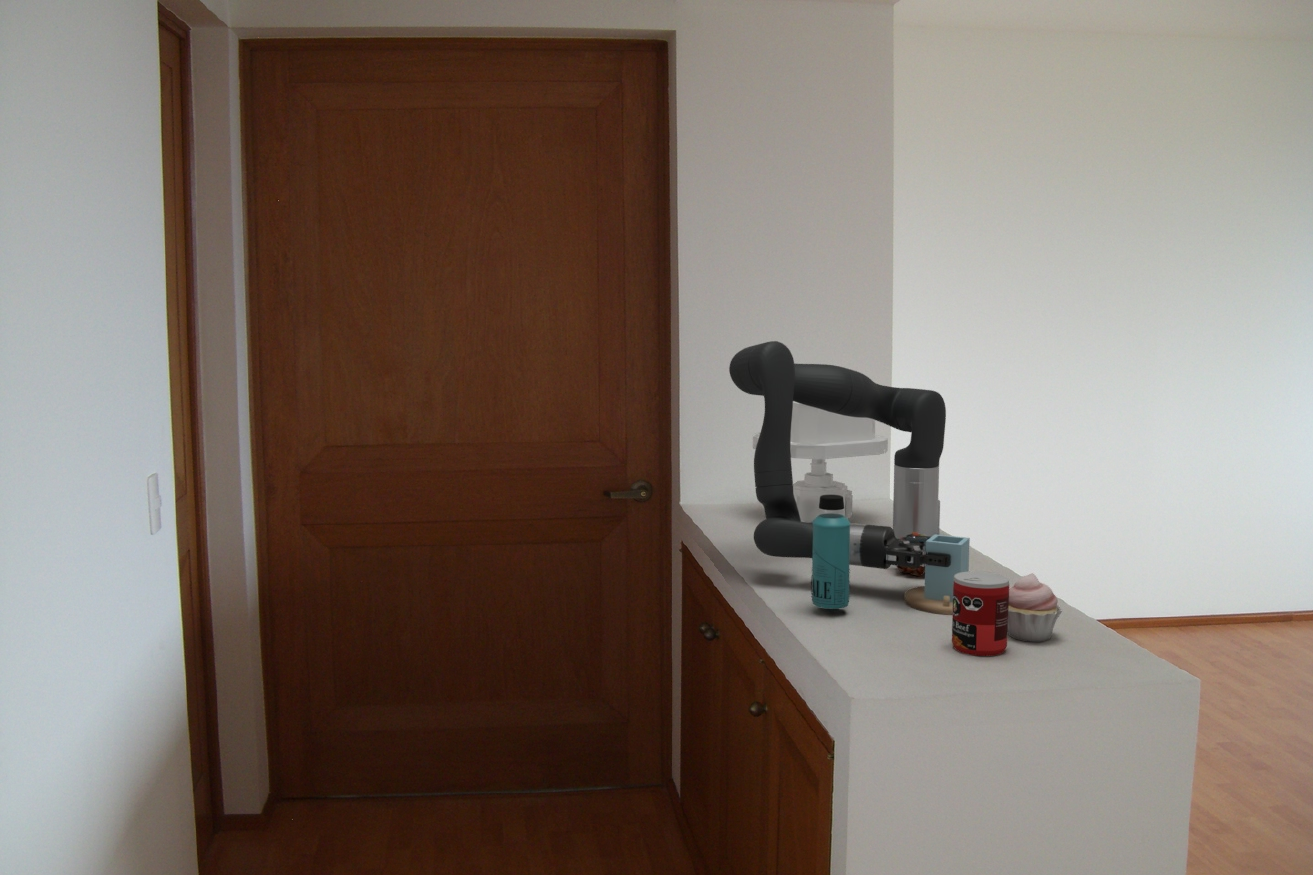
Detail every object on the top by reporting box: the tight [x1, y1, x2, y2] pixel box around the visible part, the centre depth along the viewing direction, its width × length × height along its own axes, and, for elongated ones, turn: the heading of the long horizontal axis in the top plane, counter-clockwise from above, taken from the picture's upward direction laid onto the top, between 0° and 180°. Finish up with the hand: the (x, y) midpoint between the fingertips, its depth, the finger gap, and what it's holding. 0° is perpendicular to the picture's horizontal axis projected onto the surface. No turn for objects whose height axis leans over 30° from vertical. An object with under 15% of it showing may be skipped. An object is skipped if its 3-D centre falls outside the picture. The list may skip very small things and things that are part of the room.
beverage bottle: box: [810, 495, 851, 610], centre depth 179 cm, size 6×7×20 cm
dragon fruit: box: [896, 532, 925, 577], centre depth 205 cm, size 8×8×12 cm
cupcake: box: [1007, 572, 1063, 643], centre depth 166 cm, size 9×9×10 cm
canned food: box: [951, 570, 1010, 657], centre depth 160 cm, size 8×8×11 cm
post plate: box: [904, 585, 953, 616], centre depth 184 cm, size 14×14×8 cm
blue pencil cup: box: [924, 534, 971, 602], centre depth 184 cm, size 6×6×10 cm
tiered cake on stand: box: [752, 401, 889, 522], centre depth 249 cm, size 27×27×35 cm
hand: (956, 555), depth 183 cm, fingers open, 8 cm apart
